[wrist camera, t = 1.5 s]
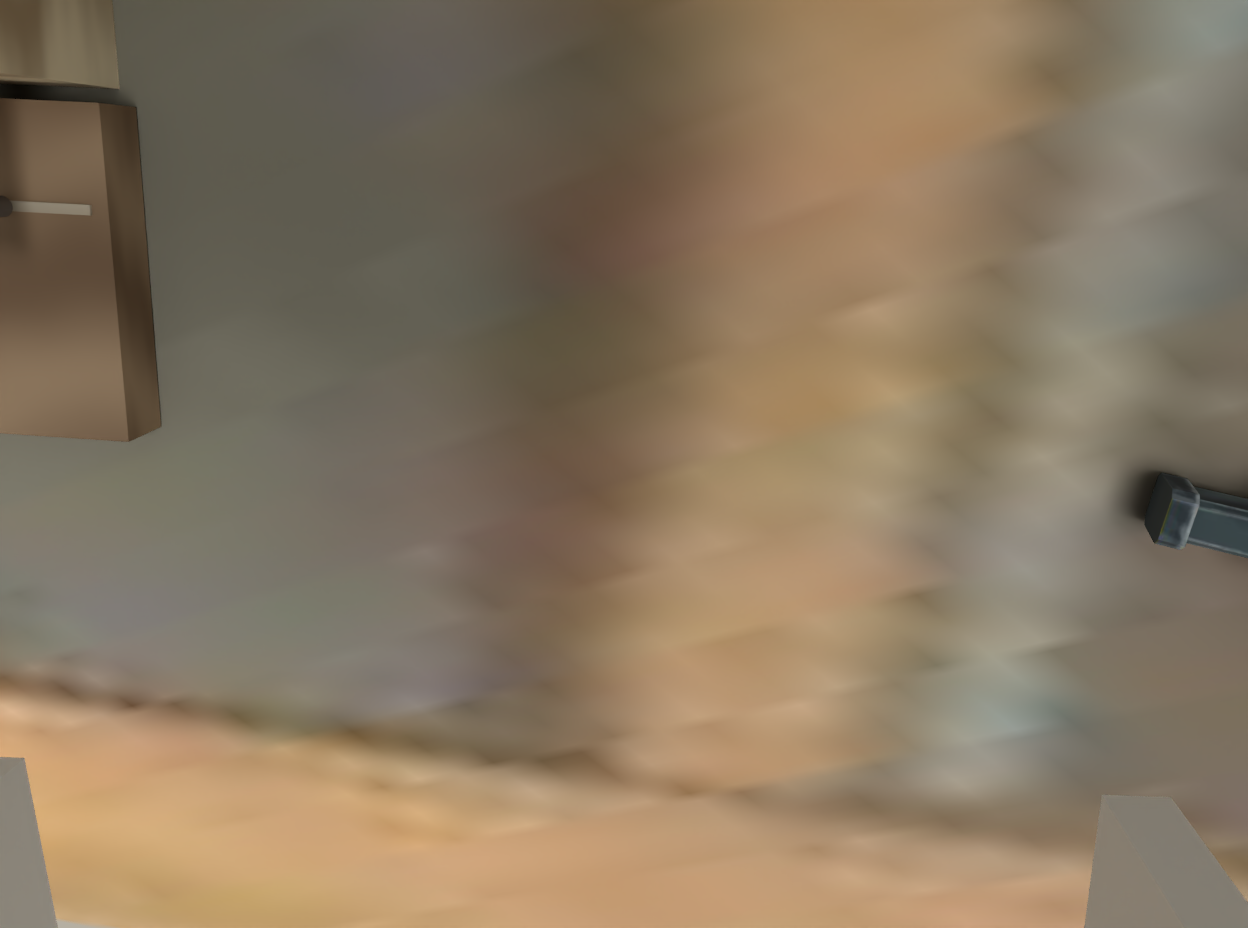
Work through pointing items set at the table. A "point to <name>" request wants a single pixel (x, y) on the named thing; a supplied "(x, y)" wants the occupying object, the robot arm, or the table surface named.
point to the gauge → (57, 47)
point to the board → (74, 274)
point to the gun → (1196, 517)
